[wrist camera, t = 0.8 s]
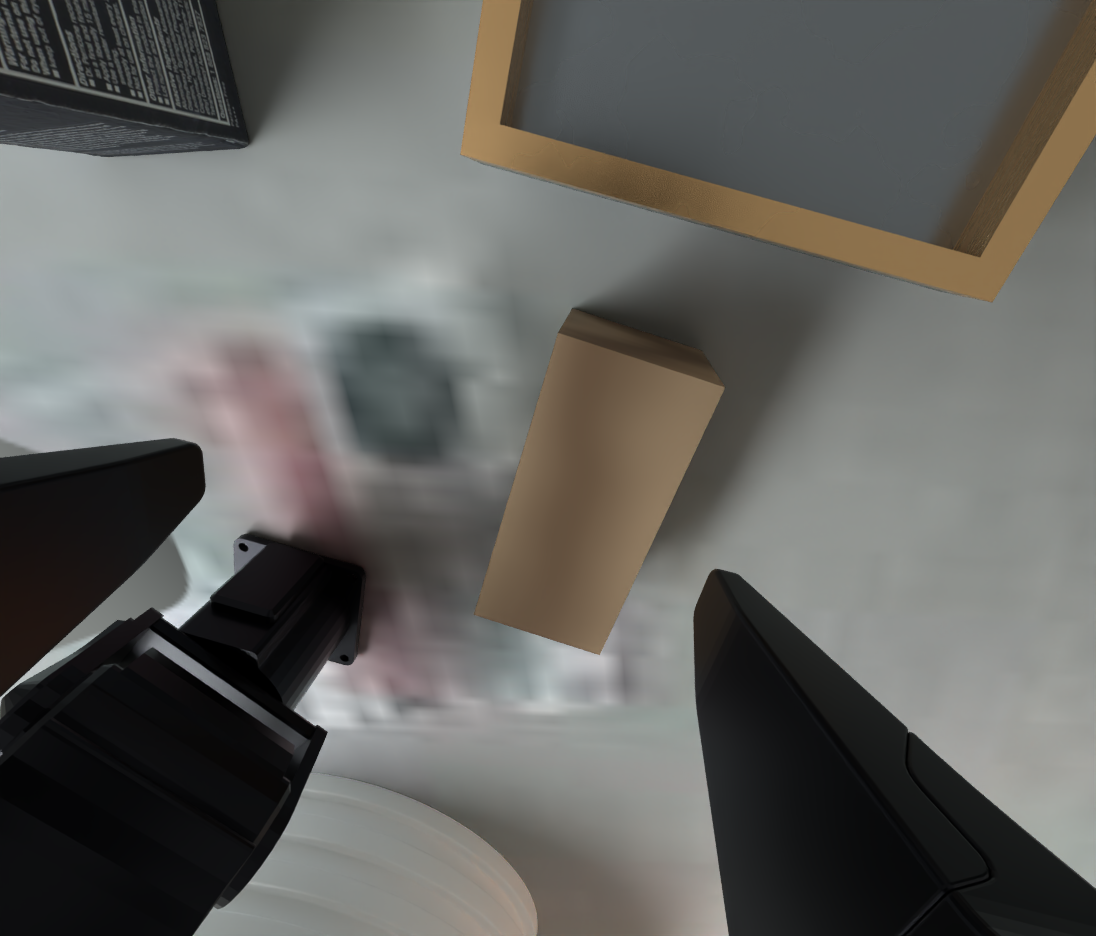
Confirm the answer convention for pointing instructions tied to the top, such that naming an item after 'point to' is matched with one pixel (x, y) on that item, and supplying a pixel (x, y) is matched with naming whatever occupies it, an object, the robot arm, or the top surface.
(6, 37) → the small box
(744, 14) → the wooden frame tray
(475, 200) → the top surface
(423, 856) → the plate stack
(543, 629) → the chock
